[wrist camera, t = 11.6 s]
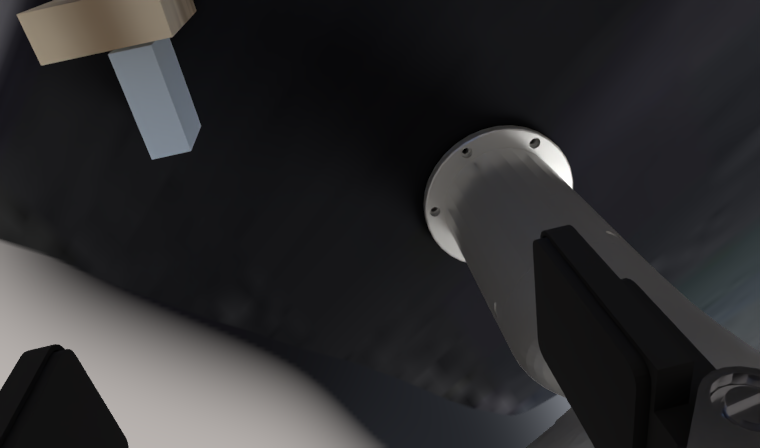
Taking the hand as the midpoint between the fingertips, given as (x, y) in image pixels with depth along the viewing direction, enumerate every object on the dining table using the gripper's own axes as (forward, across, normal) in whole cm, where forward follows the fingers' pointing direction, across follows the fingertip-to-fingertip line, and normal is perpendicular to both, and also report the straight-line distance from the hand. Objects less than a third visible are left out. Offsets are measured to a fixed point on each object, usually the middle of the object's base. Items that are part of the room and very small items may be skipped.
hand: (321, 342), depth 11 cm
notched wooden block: (+32, +10, -4) cm, 34 cm away
